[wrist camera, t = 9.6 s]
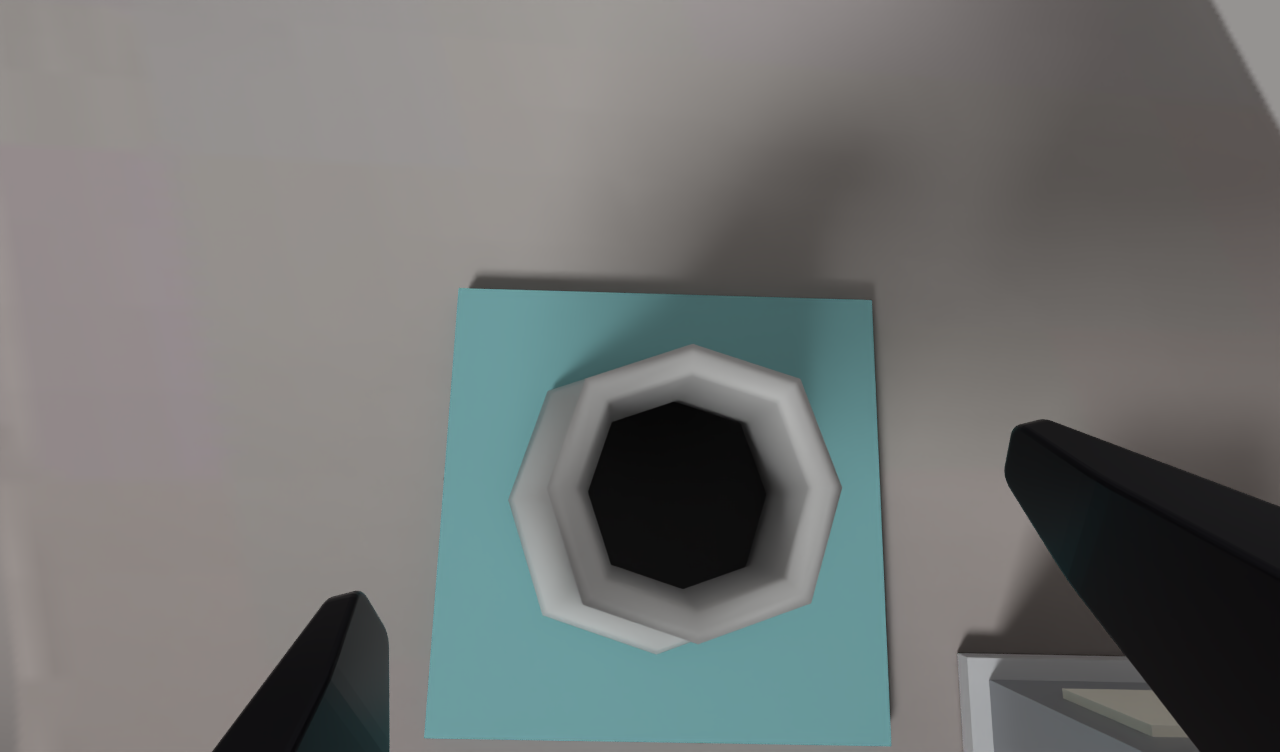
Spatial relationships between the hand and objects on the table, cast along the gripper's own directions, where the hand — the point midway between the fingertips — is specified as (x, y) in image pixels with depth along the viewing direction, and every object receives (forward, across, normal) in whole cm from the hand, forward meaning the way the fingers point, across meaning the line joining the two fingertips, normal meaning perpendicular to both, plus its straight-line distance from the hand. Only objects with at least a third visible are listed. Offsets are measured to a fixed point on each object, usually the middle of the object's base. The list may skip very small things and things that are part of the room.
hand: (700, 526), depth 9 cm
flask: (+6, 0, +5) cm, 8 cm away
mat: (+6, 0, +6) cm, 9 cm away
